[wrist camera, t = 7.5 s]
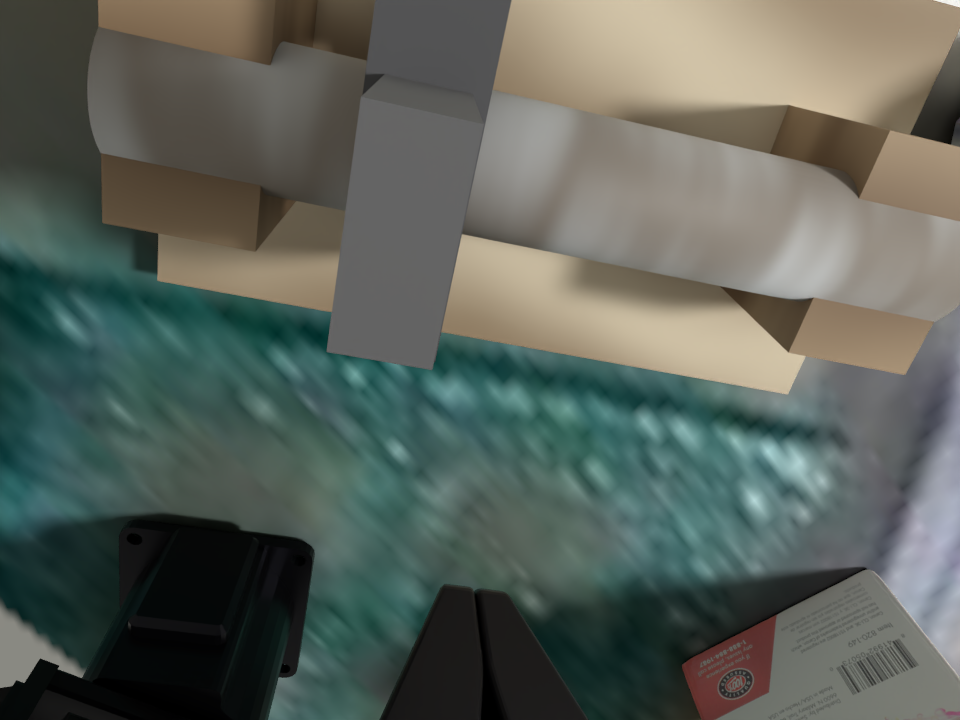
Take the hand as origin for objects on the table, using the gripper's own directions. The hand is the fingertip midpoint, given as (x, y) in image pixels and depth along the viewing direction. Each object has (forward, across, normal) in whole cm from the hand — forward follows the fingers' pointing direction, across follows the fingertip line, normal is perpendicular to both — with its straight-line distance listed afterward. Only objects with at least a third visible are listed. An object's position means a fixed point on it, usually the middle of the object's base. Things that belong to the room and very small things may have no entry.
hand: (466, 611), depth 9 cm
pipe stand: (+13, -2, -4) cm, 14 cm away
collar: (+12, +2, -4) cm, 12 cm away
